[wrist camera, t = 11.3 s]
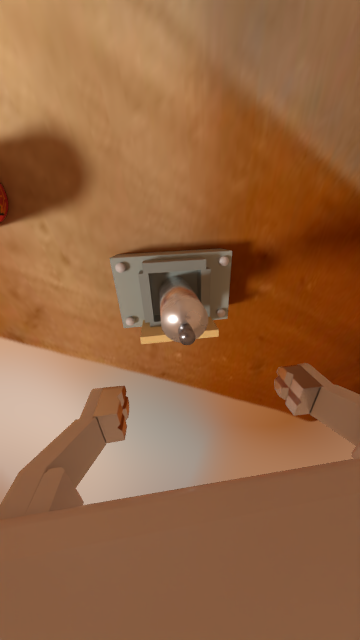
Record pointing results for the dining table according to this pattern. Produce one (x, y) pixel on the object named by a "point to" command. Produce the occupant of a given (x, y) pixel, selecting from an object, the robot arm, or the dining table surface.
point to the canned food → (3, 203)
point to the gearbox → (153, 268)
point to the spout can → (181, 311)
